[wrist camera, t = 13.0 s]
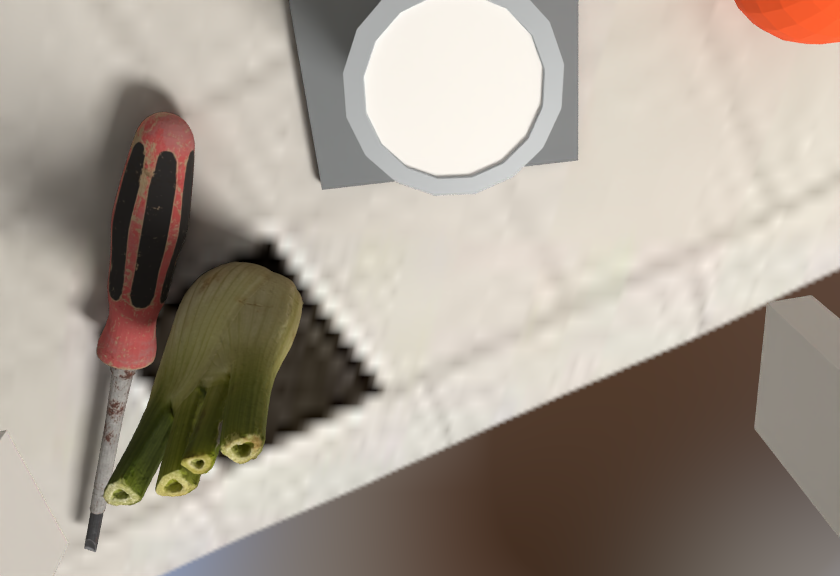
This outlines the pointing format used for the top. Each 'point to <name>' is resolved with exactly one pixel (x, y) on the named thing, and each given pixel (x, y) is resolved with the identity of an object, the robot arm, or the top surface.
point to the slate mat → (324, 88)
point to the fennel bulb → (211, 381)
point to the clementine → (796, 19)
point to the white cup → (453, 90)
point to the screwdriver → (140, 270)
